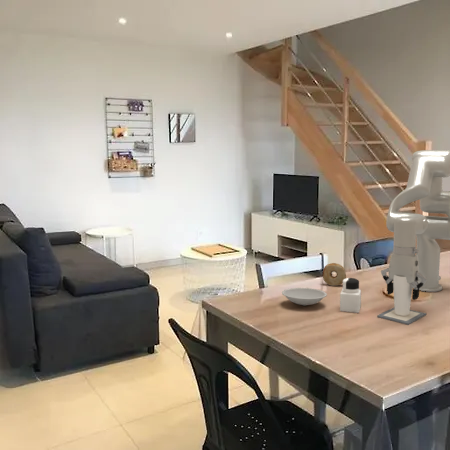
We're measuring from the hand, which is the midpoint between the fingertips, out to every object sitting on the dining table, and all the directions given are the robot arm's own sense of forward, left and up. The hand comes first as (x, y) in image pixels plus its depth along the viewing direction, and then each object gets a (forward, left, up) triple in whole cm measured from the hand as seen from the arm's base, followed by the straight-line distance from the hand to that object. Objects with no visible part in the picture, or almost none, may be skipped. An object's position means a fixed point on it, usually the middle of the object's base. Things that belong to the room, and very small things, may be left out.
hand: (402, 296), depth 188 cm
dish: (+14, -34, -8) cm, 38 cm away
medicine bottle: (+6, -18, -8) cm, 20 cm away
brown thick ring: (-17, -41, -8) cm, 45 cm away
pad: (0, 0, -7) cm, 7 cm away
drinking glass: (0, 0, -7) cm, 7 cm away
